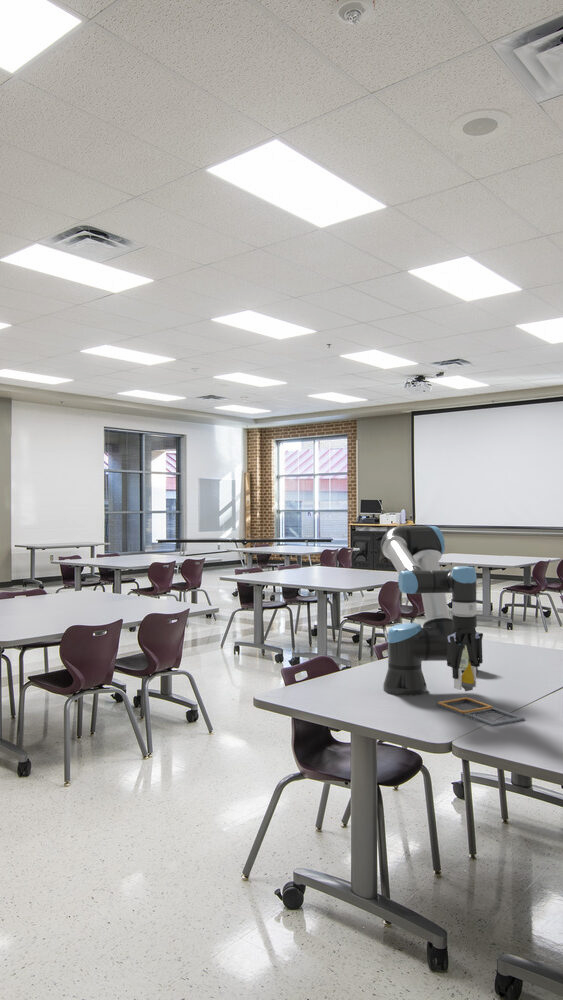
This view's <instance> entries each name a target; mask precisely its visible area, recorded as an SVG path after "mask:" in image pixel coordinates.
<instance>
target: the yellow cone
mask: <svg viewBox="0 0 563 1000" xmlns="http://www.w3.org/2000/svg"><path fill="white" fill-rule="evenodd" d="M474 686H475V681H474V678H473V673H472V668H471V663H469V664H468V666H467V668H466V669H465V670H463V673H462V689H464V692H469V691H473V689H474Z"/></svg>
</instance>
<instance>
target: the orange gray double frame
mask: <svg viewBox="0 0 563 1000" xmlns="http://www.w3.org/2000/svg"><path fill="white" fill-rule="evenodd" d="M466 702H467V703H466ZM460 703H461V704H469V703H470V705H472V704H474V705H473V706H475V705H477V706H476V707H477V708H472V709H466V710H462V709H460V708H457V707H455V706H454V705H461V704H460ZM478 706H479V707H478ZM435 707H438V708H441V709H444V710H447V711H448V712H452V713H454V714H457V713H458V715H460V714H461V715H460V716H462V717H465V716H467V717H466V718H468V717H469V718H468V719H471V718H472V719H471V720H474V719H475V720H474V721H476V720H477V721H476V722H479V721H480V722H479V723H482V724H486V725H488V726H490V725H491V727H496V726H497V727H498V726H502V725H507V724H512V723H519V722H524V721H526V718H525V717H523V716H520V715H517V714H514V713H511V712H509V711H506V710H503V709H500V708H497V707H494V706H492V705H491V704H487V703H484V702H481V701H478V700H476V699H473V698H470V697H467V696H466V697H461V698H460V697H459V698H454V699H448V700H442V701H437V702H435ZM481 707H482V708H481ZM489 711H494V712H493V713H497V714H500V715H501V716H502V715H503V716H505V717H508V719H501V720H498V721H490V720H487V719H484V718H482V717H479V716H477V715H479V714H478V713H482V714H485V713H484V712H488V713H490V712H489ZM473 714H476V715H473Z"/></svg>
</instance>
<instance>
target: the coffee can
mask: <svg viewBox="0 0 563 1000" xmlns="http://www.w3.org/2000/svg"><path fill="white" fill-rule="evenodd" d="M469 663H470V660H469V655H468V651H467V647H466V645H465V647H464V648H463V652H462V657H461V662H460V667H459V668H460V669H462V671H465V669H466V668H467V666H468V664H469ZM478 669H479V667H477V670H478Z"/></svg>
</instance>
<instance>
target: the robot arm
mask: <svg viewBox="0 0 563 1000" xmlns="http://www.w3.org/2000/svg"><path fill="white" fill-rule="evenodd" d="M445 547H446V545H445V538H444V534H443V532H442V530H441V529H440V528H439V527H438V526H435V525H399V526H398V525H397V526H395V527H392V528H390V529H389V530H388V531H387V532H385V534H383V536H382V538H381V541H380V549H381V551H382V554H383V556H384V557H385V558H387V559H388V560H390V562H391V563H392V565H393V566H394V568H395V570H396V571H397V573H398V576H397V577H398V578H397V583H398V584H397V585H398V588H399V592H401V593H403V594H410V595H413V594H421V598H422V605H423V610H424V616H425V621H424V622H423V624H422V625H421V624H419V623H416V622H412V623H411V622H405V623H400V624H396V625H393V626H391V627H390V628H389V629H388V631H387V666H388V667H387V671H386V675H385V678H384V681H383V687H382V688H383V689H382V690H383V691H384V692H385V693H388V694H389V695H395V696H403V697H404V696H407V697H409V696H413V697H414V696H419V695H424V694H425V693H427V692H428V691H427V690H428V688H427V687H428V686H427V683H426V680H425V677H424V673H423V671H422V663H423V662H436V661H437V662H438V661H440V662H442V661H443V662H444V661H446V666H447V667H450V668H451V669H452V679H453V688H454V689H456V690H459V691H461V690H463V687H462V674H463V673H462V671H463V670H462V669H460V668H459V667H460V662H461V657H462V652H463V648H464V647H465V645H466V647H467V651H468V655H469V660H470V663H471V668H472V673H473V678H474V681H475V686H474V687H473V689H474V688H477V677H478V669H477V667H478V668H480V666H481V664H483V662H484V661H483V637H484V633H483V632H479V631H477V630H476V628H477V626H478V624H477V622H478V621H477V619H478V618H477V616H476V615H477V614H478V613H477V579H478V578H477V571H476V568H475V567H474V566H464V565H462V566H461V565H460V566H459V565H457V566H454V567H452V568H451V569H449V568H448V569H444V570H442V569H441V567H440V562H439V561H440V560H441V558H442V555H443V554H444V553H445ZM446 594H452V597H451V598H452V602H451V603H452V606H451V607H452V608H451V609H452V610H451V611H452V614H453V615H452V617H451V616H450V612H449V606H448V601H447V597H446Z"/></svg>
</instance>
